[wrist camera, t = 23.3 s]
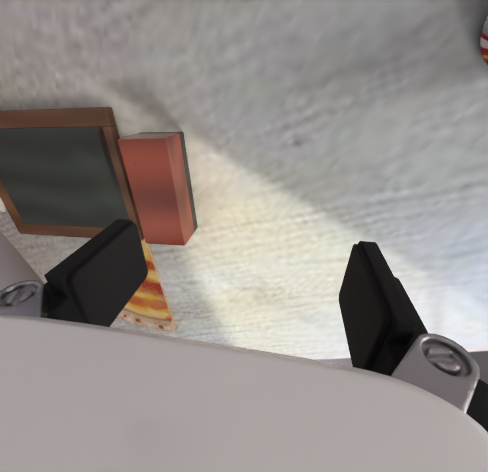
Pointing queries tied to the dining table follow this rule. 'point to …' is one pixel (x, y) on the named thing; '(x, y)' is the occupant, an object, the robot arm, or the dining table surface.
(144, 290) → the pizza slice
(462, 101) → the dining table surface
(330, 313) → the dining table surface
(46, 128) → the chalkboard
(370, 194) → the dining table surface
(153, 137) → the eraser
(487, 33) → the soda can
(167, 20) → the dining table surface
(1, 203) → the chalk mark
